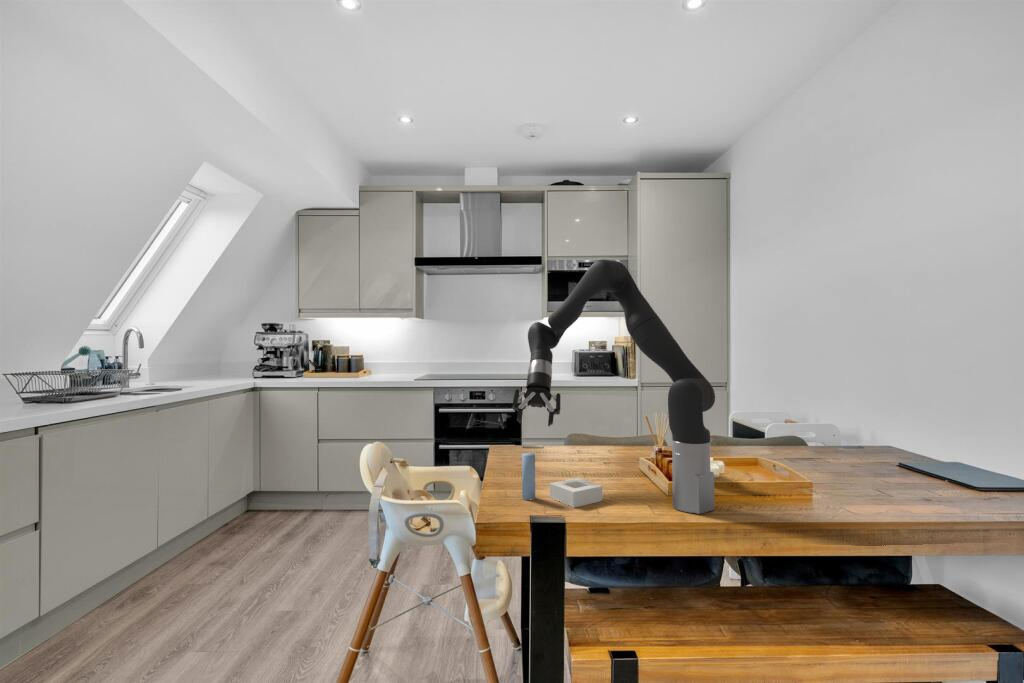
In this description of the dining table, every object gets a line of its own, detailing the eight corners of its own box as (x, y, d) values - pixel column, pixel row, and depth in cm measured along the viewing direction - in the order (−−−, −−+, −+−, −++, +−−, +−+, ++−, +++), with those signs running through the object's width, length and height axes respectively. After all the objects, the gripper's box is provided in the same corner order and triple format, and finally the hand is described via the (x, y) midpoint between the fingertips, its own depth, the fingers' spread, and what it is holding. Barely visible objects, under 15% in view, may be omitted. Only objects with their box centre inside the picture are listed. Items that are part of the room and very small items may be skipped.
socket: (602, 500, 140) (602, 486, 140) (573, 507, 134) (573, 492, 134) (578, 491, 148) (578, 477, 148) (550, 497, 143) (549, 483, 143)
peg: (537, 498, 142) (537, 454, 142) (527, 501, 140) (526, 456, 140) (530, 495, 145) (530, 452, 145) (519, 497, 143) (519, 454, 143)
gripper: (516, 368, 160) (510, 415, 150) (563, 372, 159) (559, 420, 149) (516, 381, 166) (510, 427, 156) (561, 386, 165) (558, 432, 155)
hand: (534, 423), depth 153 cm, fingers open, 8 cm apart
